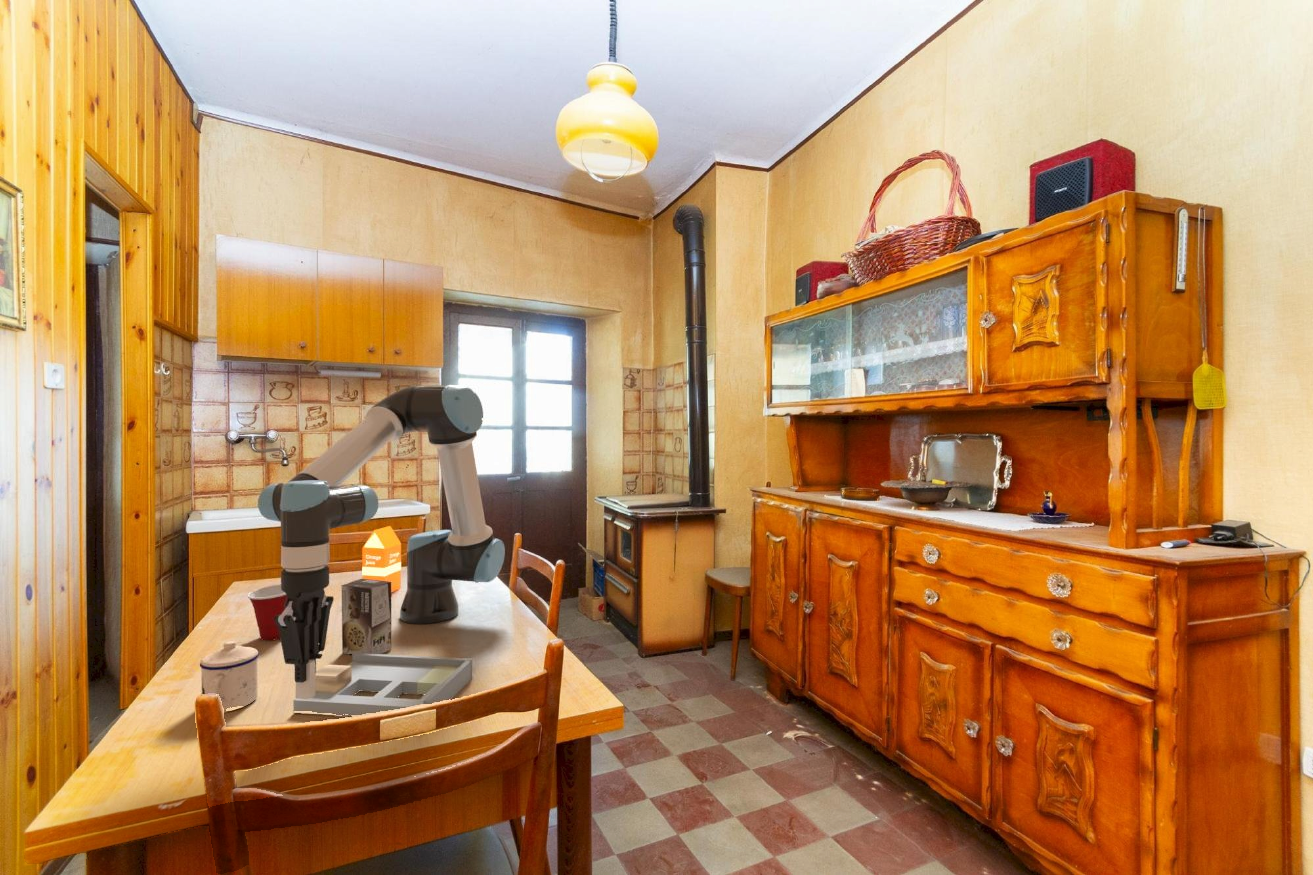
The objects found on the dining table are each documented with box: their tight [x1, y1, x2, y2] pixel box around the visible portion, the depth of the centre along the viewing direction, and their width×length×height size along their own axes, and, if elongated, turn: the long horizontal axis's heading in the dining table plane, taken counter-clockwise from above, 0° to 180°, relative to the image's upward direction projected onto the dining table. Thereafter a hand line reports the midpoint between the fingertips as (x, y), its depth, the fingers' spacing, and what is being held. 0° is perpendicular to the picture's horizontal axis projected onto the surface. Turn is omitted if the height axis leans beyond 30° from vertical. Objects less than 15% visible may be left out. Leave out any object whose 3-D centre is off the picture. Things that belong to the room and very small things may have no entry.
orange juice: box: [361, 525, 402, 593], centre depth 190 cm, size 8×9×20 cm
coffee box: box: [341, 578, 392, 656], centre depth 140 cm, size 9×6×16 cm
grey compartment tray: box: [292, 653, 474, 718], centre depth 118 cm, size 20×26×4 cm
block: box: [315, 664, 352, 692], centre depth 116 cm, size 5×5×3 cm
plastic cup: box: [246, 583, 287, 641], centre depth 149 cm, size 11×11×12 cm
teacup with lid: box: [199, 640, 260, 714], centre depth 112 cm, size 12×9×12 cm
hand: (305, 696), depth 109 cm, fingers closed
